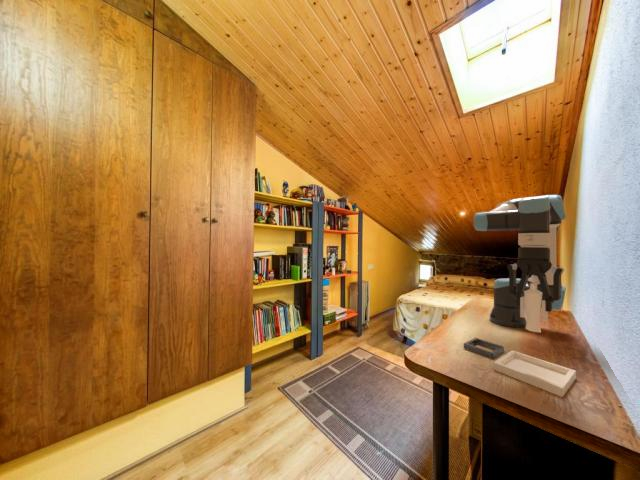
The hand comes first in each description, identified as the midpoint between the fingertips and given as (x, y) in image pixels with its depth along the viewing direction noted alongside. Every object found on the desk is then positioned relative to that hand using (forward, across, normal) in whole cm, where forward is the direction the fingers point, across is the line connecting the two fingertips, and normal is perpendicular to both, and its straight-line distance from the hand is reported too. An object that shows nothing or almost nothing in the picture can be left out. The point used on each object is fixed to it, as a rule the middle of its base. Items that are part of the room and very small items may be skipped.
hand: (533, 318), depth 74 cm
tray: (+18, 0, 0) cm, 18 cm away
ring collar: (+18, -16, +5) cm, 24 cm away
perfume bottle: (+4, 0, 0) cm, 4 cm away
